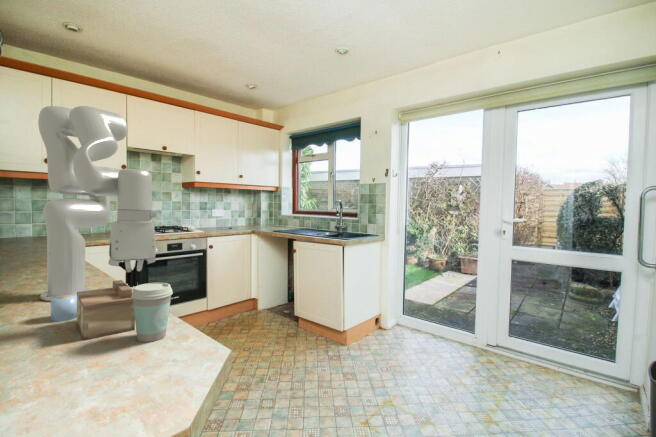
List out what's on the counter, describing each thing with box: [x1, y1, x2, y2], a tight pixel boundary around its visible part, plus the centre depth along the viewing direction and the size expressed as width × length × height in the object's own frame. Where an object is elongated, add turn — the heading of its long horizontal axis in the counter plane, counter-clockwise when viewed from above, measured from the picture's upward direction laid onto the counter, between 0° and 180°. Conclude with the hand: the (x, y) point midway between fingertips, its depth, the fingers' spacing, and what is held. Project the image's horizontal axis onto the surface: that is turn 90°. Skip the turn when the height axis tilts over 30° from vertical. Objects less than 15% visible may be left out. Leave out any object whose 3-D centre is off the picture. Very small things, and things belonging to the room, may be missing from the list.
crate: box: [76, 296, 136, 341], centre depth 79 cm, size 14×10×7 cm
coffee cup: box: [131, 282, 174, 343], centre depth 74 cm, size 8×8×12 cm
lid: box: [77, 279, 133, 309], centre depth 79 cm, size 14×10×3 cm
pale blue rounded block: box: [50, 295, 77, 323], centre depth 84 cm, size 6×6×6 cm
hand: (132, 285), depth 83 cm, fingers closed
